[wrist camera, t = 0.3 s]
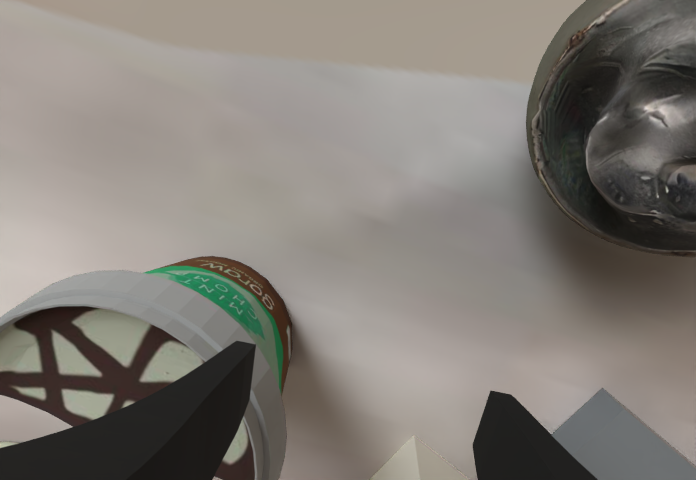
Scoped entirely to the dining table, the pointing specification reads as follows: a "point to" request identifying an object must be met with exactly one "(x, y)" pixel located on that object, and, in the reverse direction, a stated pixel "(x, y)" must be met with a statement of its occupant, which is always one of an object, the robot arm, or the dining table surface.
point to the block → (417, 464)
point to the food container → (152, 347)
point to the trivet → (620, 444)
